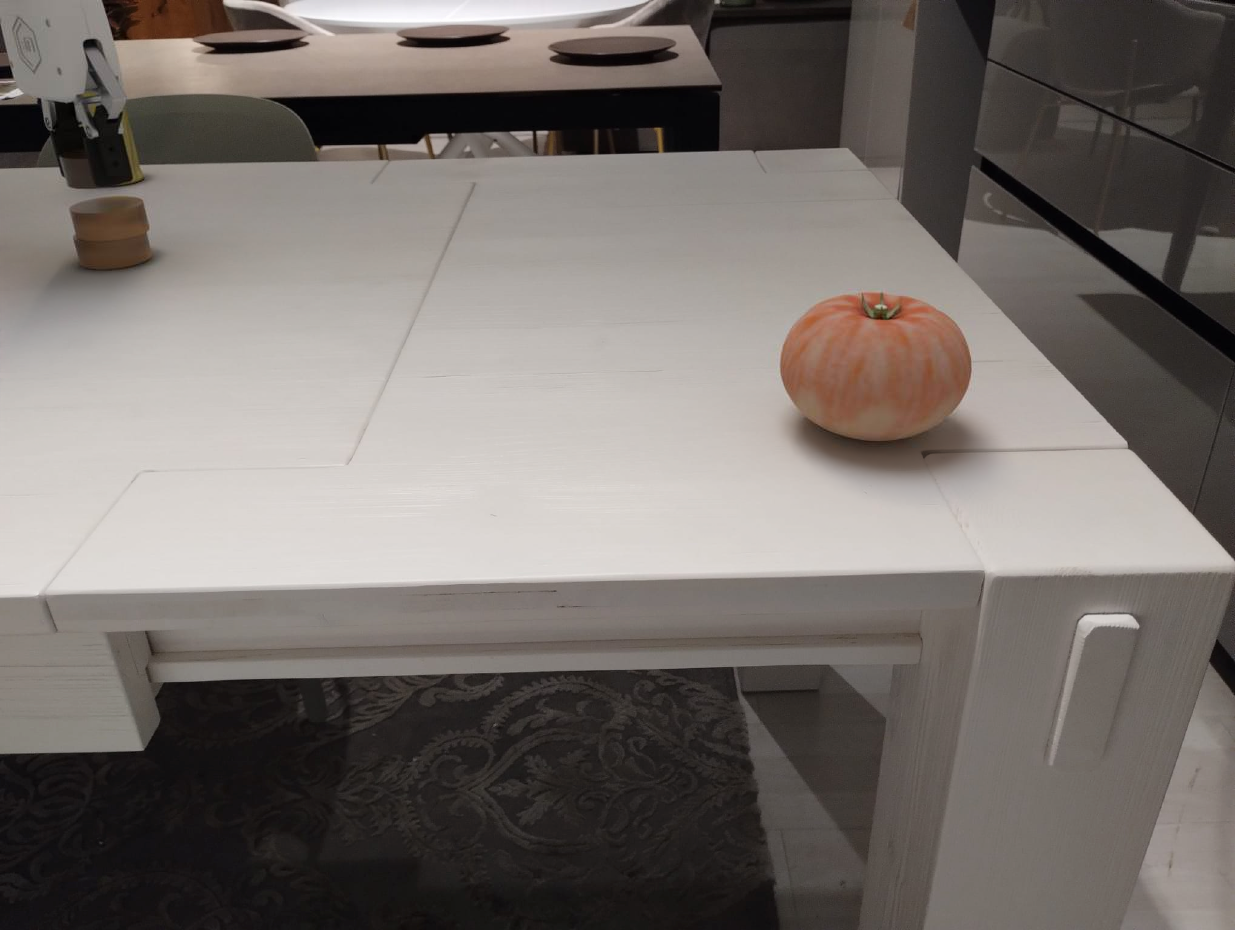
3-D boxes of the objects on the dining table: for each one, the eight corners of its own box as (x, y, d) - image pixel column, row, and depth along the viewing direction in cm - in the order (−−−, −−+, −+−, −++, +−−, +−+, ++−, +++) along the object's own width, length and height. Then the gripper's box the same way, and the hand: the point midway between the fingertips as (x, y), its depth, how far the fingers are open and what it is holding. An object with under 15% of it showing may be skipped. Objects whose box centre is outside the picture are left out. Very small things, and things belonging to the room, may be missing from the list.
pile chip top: (64, 234, 90) (56, 206, 89) (128, 219, 94) (121, 192, 93) (97, 246, 87) (90, 217, 86) (162, 230, 91) (156, 202, 90)
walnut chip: (56, 184, 88) (48, 154, 87) (112, 173, 91) (104, 144, 90) (84, 191, 85) (76, 161, 84) (140, 180, 89) (133, 151, 87)
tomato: (749, 398, 64) (756, 276, 60) (904, 379, 66) (920, 261, 63) (821, 479, 55) (834, 342, 51) (998, 454, 57) (1024, 320, 53)
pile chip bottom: (67, 261, 91) (60, 234, 90) (131, 246, 95) (124, 219, 94) (101, 274, 88) (93, 246, 87) (165, 257, 92) (158, 230, 91)
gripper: (-60, -54, 82) (9, 175, 90) (39, -53, 72) (105, 202, 81) (34, -57, 87) (91, 160, 95) (138, -57, 77) (190, 184, 86)
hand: (97, 177), depth 88 cm, fingers closed on walnut chip, 5 cm apart
